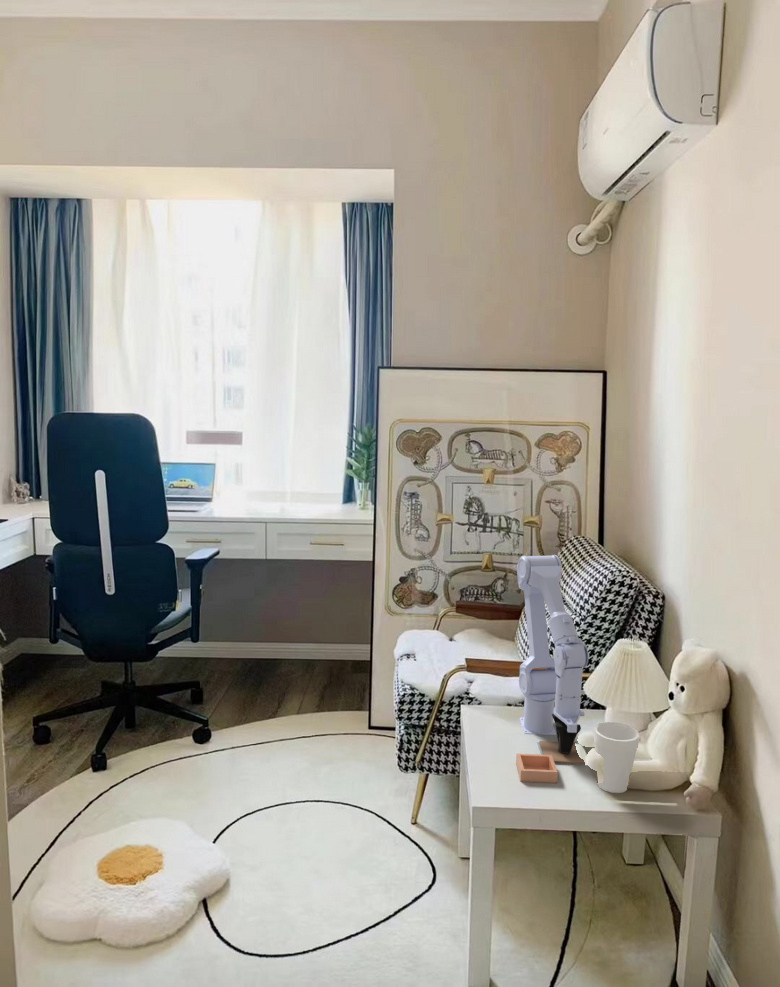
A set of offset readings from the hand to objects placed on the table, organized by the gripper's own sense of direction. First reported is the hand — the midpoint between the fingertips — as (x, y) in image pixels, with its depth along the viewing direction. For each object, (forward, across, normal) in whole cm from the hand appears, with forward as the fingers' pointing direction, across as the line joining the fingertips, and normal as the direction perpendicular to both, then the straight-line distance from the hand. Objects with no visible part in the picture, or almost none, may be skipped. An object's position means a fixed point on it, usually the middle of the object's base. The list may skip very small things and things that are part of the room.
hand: (564, 748), depth 193 cm
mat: (+2, 0, 0) cm, 2 cm away
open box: (+2, -10, +8) cm, 13 cm away
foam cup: (+2, -14, -8) cm, 16 cm away
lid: (+1, 0, 0) cm, 1 cm away
